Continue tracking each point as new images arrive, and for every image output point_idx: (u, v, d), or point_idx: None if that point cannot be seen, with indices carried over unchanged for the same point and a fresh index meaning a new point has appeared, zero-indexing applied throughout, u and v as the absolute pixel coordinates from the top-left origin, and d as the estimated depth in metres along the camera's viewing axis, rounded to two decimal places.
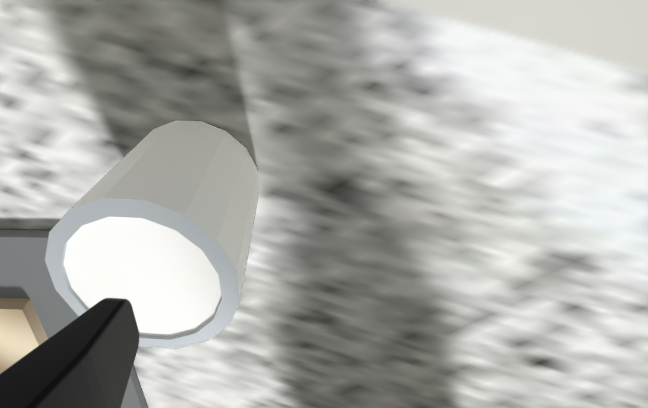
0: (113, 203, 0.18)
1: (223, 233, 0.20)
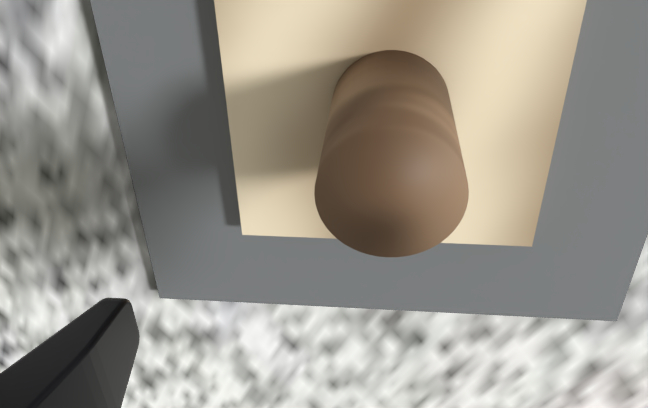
0: None
1: None
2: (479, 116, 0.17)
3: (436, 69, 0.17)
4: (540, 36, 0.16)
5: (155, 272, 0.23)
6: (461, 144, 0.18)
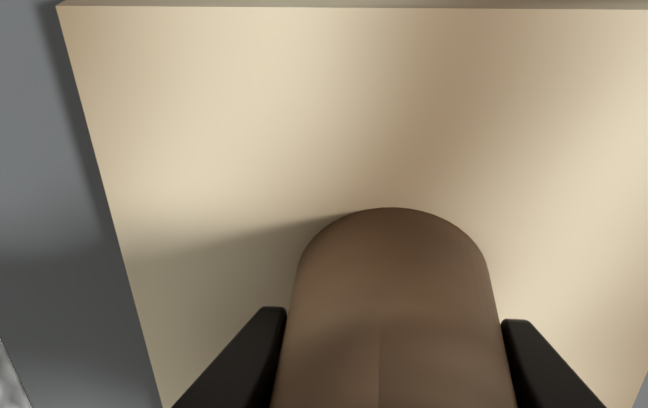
0: None
1: None
2: (537, 303, 0.11)
3: (469, 238, 0.10)
4: None
5: None
6: None
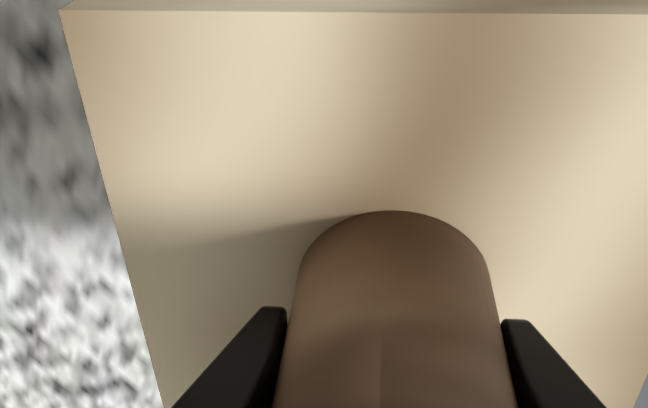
0: None
1: None
2: (538, 306, 0.11)
3: (470, 241, 0.10)
4: None
5: None
6: None
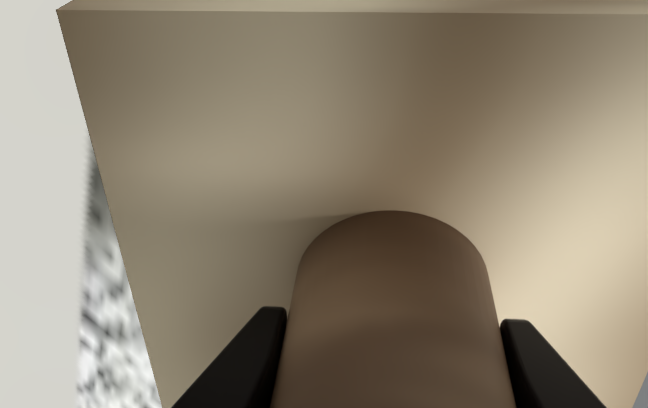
0: None
1: None
2: (537, 306, 0.11)
3: (469, 241, 0.10)
4: None
5: None
6: None
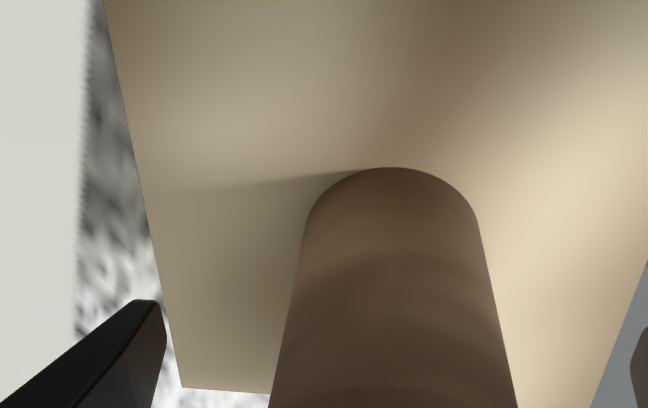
0: None
1: None
2: (523, 259, 0.12)
3: (462, 196, 0.11)
4: (626, 156, 0.10)
5: None
6: (494, 293, 0.12)
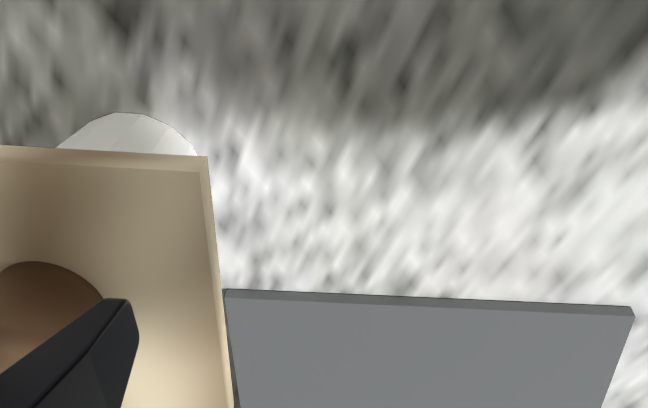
0: None
1: None
2: (140, 318, 0.17)
3: (83, 280, 0.17)
4: (173, 258, 0.16)
5: None
6: None
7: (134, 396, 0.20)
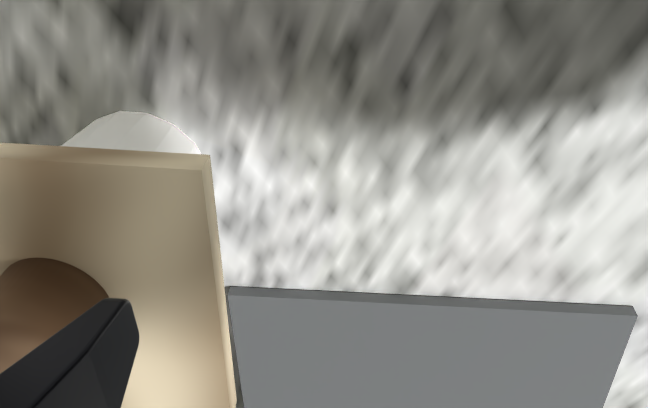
0: None
1: None
2: (143, 315, 0.18)
3: (88, 276, 0.17)
4: (176, 256, 0.16)
5: None
6: None
7: (138, 391, 0.20)
